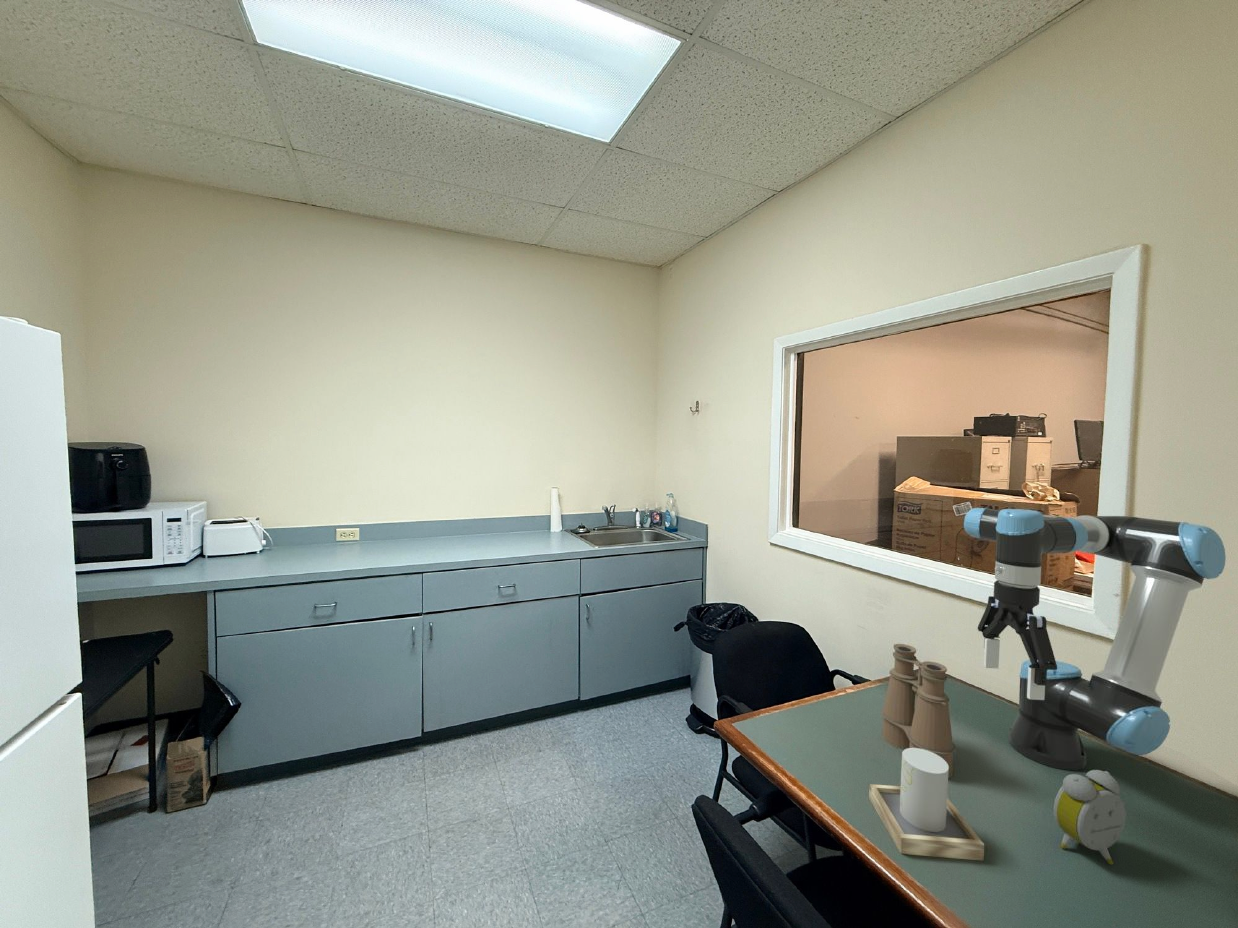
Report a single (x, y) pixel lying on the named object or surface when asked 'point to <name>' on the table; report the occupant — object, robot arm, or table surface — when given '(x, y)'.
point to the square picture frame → (916, 841)
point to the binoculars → (917, 706)
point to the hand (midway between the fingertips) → (1011, 682)
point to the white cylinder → (924, 789)
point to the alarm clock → (1090, 811)
